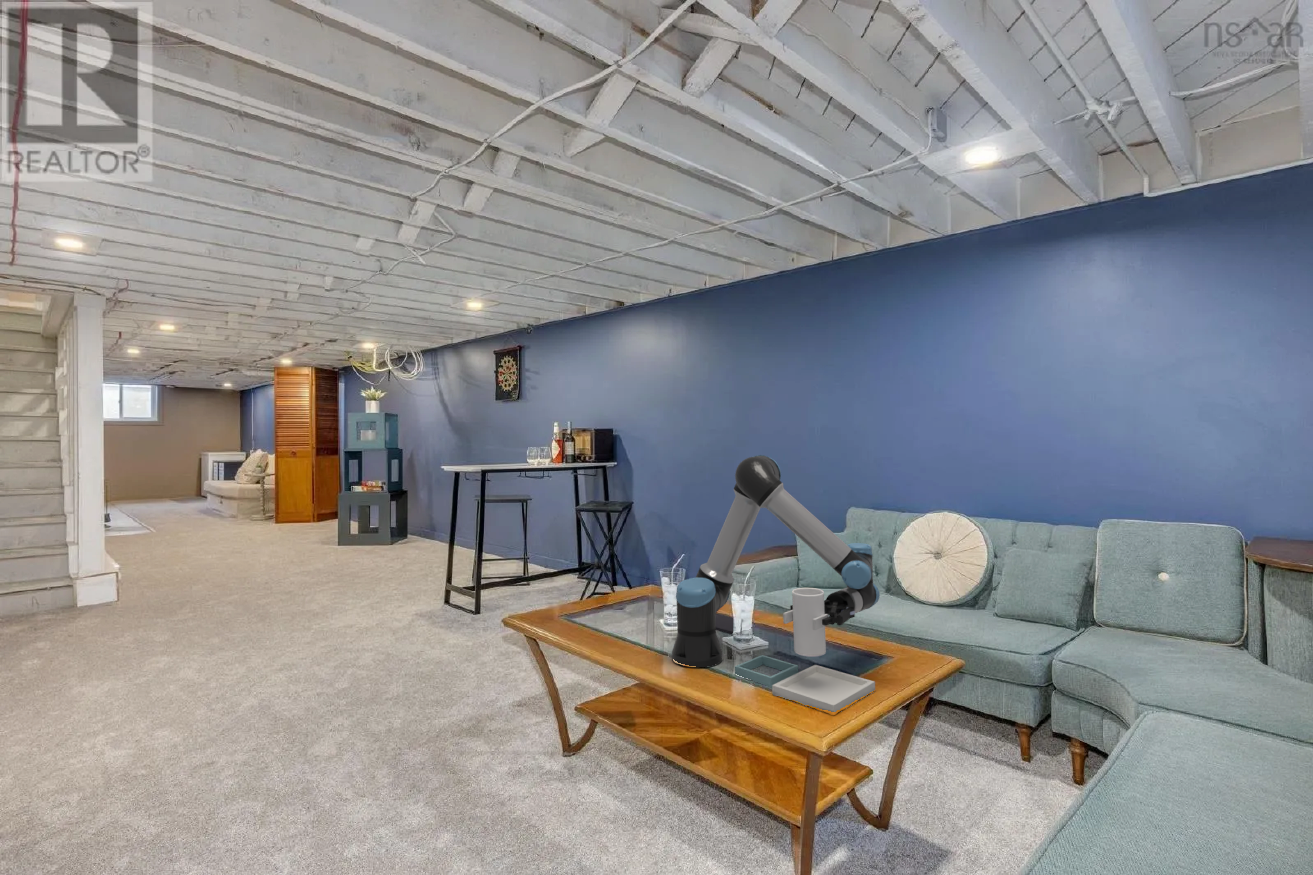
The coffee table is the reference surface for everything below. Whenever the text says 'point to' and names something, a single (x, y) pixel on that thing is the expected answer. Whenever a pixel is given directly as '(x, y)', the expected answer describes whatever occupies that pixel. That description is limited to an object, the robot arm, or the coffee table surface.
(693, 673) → the coffee table surface
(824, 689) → the tray
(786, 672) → the collar
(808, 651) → the cup
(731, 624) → the dark upright panel
